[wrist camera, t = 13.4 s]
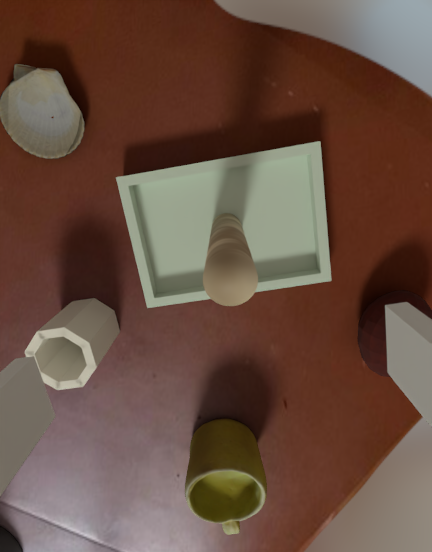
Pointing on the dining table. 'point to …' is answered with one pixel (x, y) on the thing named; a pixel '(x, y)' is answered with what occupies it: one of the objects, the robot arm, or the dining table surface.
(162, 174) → the tray
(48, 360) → the crock
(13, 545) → the robot arm
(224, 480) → the mug
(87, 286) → the dining table surface
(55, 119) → the seashell
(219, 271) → the dowel
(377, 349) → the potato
